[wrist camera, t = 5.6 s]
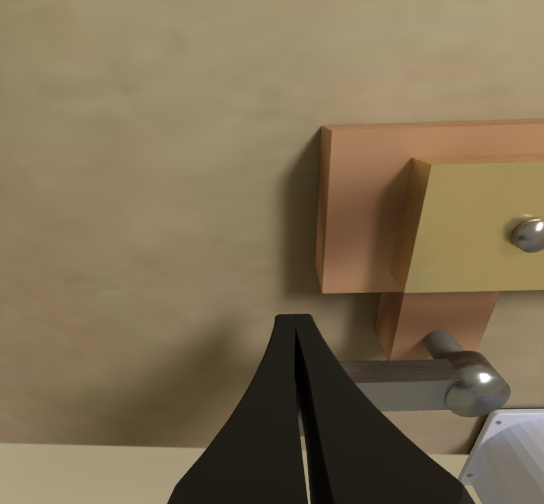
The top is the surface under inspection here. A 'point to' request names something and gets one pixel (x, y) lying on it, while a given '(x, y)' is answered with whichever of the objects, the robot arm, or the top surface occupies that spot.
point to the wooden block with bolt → (472, 224)
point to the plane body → (386, 219)
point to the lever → (429, 384)
